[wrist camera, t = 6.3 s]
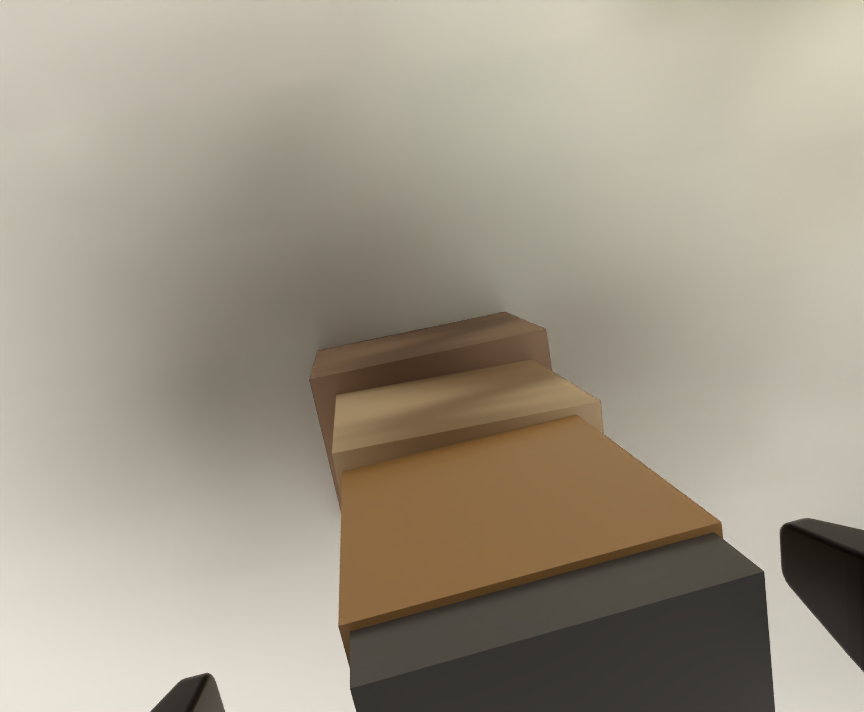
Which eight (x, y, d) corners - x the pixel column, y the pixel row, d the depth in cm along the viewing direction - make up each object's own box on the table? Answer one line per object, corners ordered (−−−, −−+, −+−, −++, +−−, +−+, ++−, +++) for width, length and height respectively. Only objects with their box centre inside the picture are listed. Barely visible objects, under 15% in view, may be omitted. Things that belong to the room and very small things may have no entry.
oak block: (532, 359, 14) (600, 401, 11) (553, 536, 15) (622, 633, 12) (336, 394, 14) (331, 453, 10) (371, 576, 15) (379, 692, 11)
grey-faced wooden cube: (576, 414, 11) (771, 560, 6) (607, 617, 11) (797, 892, 7) (342, 471, 10) (337, 682, 5) (394, 678, 11) (430, 1018, 6)
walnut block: (504, 311, 18) (545, 329, 14) (531, 482, 20) (576, 541, 16) (318, 349, 18) (309, 379, 14) (358, 523, 19) (360, 595, 15)
